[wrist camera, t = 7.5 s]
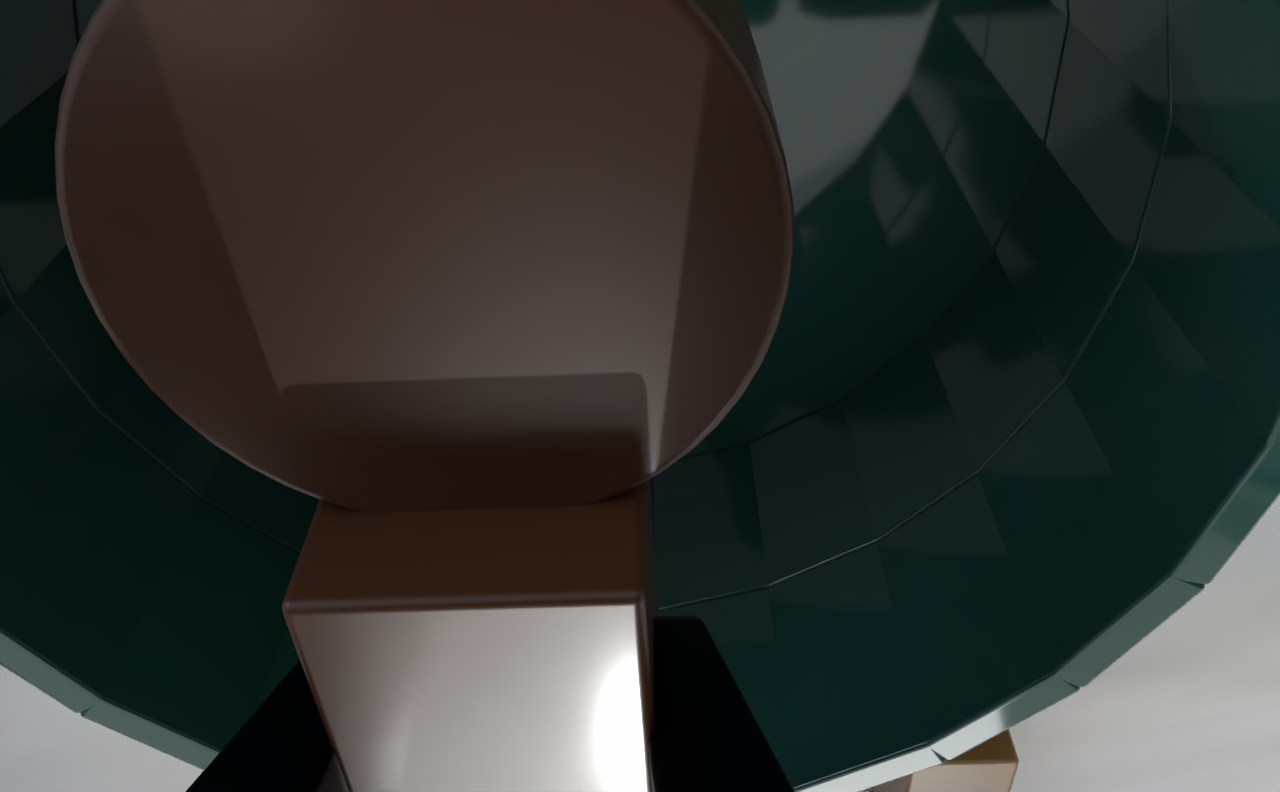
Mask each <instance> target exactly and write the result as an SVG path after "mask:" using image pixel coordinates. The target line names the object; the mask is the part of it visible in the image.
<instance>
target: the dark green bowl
mask: <svg viewBox="0 0 1280 792" xmlns="http://www.w3.org/2000/svg"><path fill="white" fill-rule="evenodd" d="M101 1H102V0H0V664H1V665H2V666H4V667H5V668H7V669H9V670H10V671H12V672H13V673H15V674H16V675H18V676H19V677H21V678H22V679H24V680H26V681H27V682H29V683H30V684H32V685H33V686H35V687H36V688H38V689H39V690H41V691H42V692H44V693H46V694H47V695H49V696H50V697H52V698H53V699H55V700H56V701H58V702H59V703H61V704H63V705H64V706H66V707H67V708H69V709H70V710H72V711H73V712H75V713H81V716H82V717H84V718H86V719H89V720H91V721H93V722H95V723H98V724H100V725H102V726H104V727H107V728H109V729H111V730H114V731H116V732H118V733H120V734H123V735H125V736H127V737H129V738H132V739H134V740H136V741H139V742H141V743H143V744H145V745H148V746H150V747H152V748H154V749H157V750H159V751H161V752H164V753H166V754H168V755H170V756H173V757H175V758H177V759H179V760H182V761H184V762H186V763H189V764H191V765H193V766H195V767H198V768H200V769H202V770H205V769H206V768H207V766H208V765H209V764H210V763H211V762H212V761H213V760H214V758H215V757H216V756H217V755H218V754H219V753H220V751H221V750H222V749H223V748H224V747H225V746H226V744H227V743H228V742H229V741H230V740H231V739H232V738H233V736H234V735H235V734H236V733H237V732H238V731H239V729H240V728H241V727H242V726H243V725H244V724H245V723H246V721H247V720H248V719H249V718H250V717H251V716H252V714H253V713H254V712H255V711H256V710H257V709H258V707H259V706H260V705H261V704H262V703H263V702H264V701H265V699H266V698H267V697H268V696H269V695H270V694H271V692H272V691H273V690H274V689H275V688H276V687H277V686H278V684H279V683H280V682H281V681H282V680H283V679H284V677H285V676H286V675H287V674H288V673H289V672H290V670H291V669H292V668H293V667H294V666H295V665H296V664H297V662H298V661H299V660H300V659H299V656H298V653H297V651H296V648H295V645H294V642H293V640H292V637H291V634H290V631H289V629H288V626H287V623H286V621H285V618H284V615H283V611H282V604H283V600H284V597H285V594H286V592H287V589H288V586H289V583H290V580H291V578H292V575H293V572H294V569H295V566H296V564H297V561H298V558H299V555H300V552H301V550H302V547H303V544H304V541H305V539H306V536H307V533H308V530H309V527H310V525H311V522H312V519H313V516H314V513H315V511H316V508H317V505H318V502H319V499H317V498H315V497H312V496H310V495H307V494H305V493H302V492H300V491H297V490H295V489H292V488H290V487H287V486H285V485H283V484H281V483H279V482H277V481H275V480H274V479H272V478H270V477H268V476H266V475H264V474H262V473H260V472H258V471H256V470H254V469H252V468H250V467H249V466H247V465H245V464H244V463H242V462H241V461H239V460H238V459H236V458H235V457H233V456H231V455H230V454H228V453H227V452H225V451H224V450H222V449H221V448H219V447H217V446H216V445H214V444H213V443H212V442H210V441H209V440H208V439H207V438H205V437H204V436H203V435H202V434H200V433H199V432H198V431H196V430H195V429H194V428H193V427H191V426H190V425H189V424H188V423H186V422H185V421H184V420H183V419H181V418H180V417H179V416H178V415H177V414H176V413H175V412H174V411H173V410H172V409H171V408H170V407H169V406H168V405H167V404H166V403H165V402H164V401H163V400H162V399H161V398H160V397H159V396H157V395H156V394H155V393H154V392H153V391H152V390H151V389H150V388H149V387H148V385H147V384H146V383H145V382H144V380H143V379H142V378H141V377H140V376H139V374H138V373H137V372H136V371H135V370H134V368H133V367H132V366H131V365H130V364H129V362H128V361H127V360H126V359H125V358H124V356H123V355H122V354H121V352H120V351H119V349H118V348H117V346H116V345H115V343H114V342H113V340H112V339H111V337H110V335H109V334H108V332H107V331H106V329H105V328H104V326H103V325H102V323H101V322H100V320H99V319H98V317H97V315H96V313H95V311H94V309H93V307H92V305H91V303H90V300H89V298H88V296H87V294H86V292H85V290H84V288H83V286H82V284H81V282H80V280H79V278H78V275H77V272H76V269H75V266H74V263H73V260H72V257H71V254H70V251H69V249H68V246H67V243H66V240H65V236H64V230H63V225H62V220H61V215H60V210H59V205H58V200H57V192H56V169H55V138H56V129H57V120H58V111H59V102H60V97H61V94H62V90H63V87H64V83H65V80H66V76H67V73H68V69H69V66H70V62H71V59H72V55H73V53H74V51H75V49H76V47H77V45H78V43H79V41H80V39H81V37H82V35H83V32H84V30H85V28H86V26H87V24H88V22H89V20H90V18H91V16H92V14H93V12H94V11H95V9H96V8H97V7H98V5H99V4H100V2H101ZM737 2H738V4H739V6H740V8H741V10H742V12H743V14H744V16H745V18H746V20H747V22H748V25H749V28H750V31H751V34H752V37H753V40H754V43H755V46H756V49H757V52H758V55H759V58H760V61H761V65H762V69H763V72H764V76H765V80H766V84H767V88H768V92H769V96H770V100H771V104H772V107H773V111H774V115H775V119H776V123H777V127H778V131H779V135H780V139H781V142H782V146H783V150H784V154H785V158H786V163H787V169H788V175H789V180H790V186H791V192H792V197H793V205H794V242H795V247H794V255H793V263H792V271H791V280H790V287H789V291H788V295H787V298H786V302H785V305H784V309H783V313H782V316H781V320H780V324H779V326H778V329H777V331H776V333H775V336H774V338H773V340H772V342H771V345H770V347H769V349H768V352H767V354H766V356H765V358H764V361H763V362H762V364H761V366H760V367H759V369H758V370H757V372H756V374H755V375H754V377H753V378H752V380H751V382H750V383H749V385H748V387H747V388H746V390H745V391H744V393H743V395H742V396H741V398H740V399H739V400H738V401H737V403H736V404H735V405H734V406H733V407H732V409H731V410H730V411H729V412H728V413H727V415H726V416H725V417H724V418H723V420H722V421H721V422H720V423H719V424H718V426H717V427H716V428H715V429H713V430H712V431H711V432H710V433H709V434H708V435H707V436H706V437H705V438H704V439H703V440H702V441H701V442H699V443H698V444H697V445H696V446H695V447H694V448H693V449H692V450H691V451H690V452H688V453H687V454H686V455H684V456H683V457H681V458H680V459H679V460H677V461H676V462H675V463H673V464H672V465H670V466H669V467H668V468H666V469H665V470H663V471H662V472H661V473H659V474H657V475H655V476H654V477H652V478H651V496H652V515H653V533H654V552H655V571H656V590H657V609H658V617H661V616H696V617H698V618H700V619H701V620H702V622H703V623H704V624H705V626H706V628H707V630H708V631H709V633H710V635H711V637H712V639H713V641H714V643H715V645H716V646H717V648H718V650H719V652H720V654H721V656H722V658H723V659H724V661H725V663H726V665H727V667H728V669H729V671H730V673H731V674H732V676H733V678H734V680H735V682H736V684H737V686H738V687H739V689H740V691H741V693H742V695H743V697H744V699H745V700H746V702H747V704H748V706H749V708H750V710H751V712H752V714H753V715H754V717H755V719H756V721H757V723H758V725H759V727H760V728H761V730H762V732H763V734H764V736H765V738H766V740H767V742H768V743H769V745H770V747H771V749H772V751H773V753H774V755H775V756H776V758H777V760H778V762H779V764H780V766H781V768H782V770H783V771H784V773H785V775H786V777H787V779H788V781H789V783H790V784H791V786H792V788H793V790H794V792H860V791H863V790H866V789H869V788H872V787H875V786H878V785H881V784H883V783H886V782H889V781H892V780H895V779H898V778H901V777H904V776H907V775H910V774H913V773H916V772H919V771H922V770H925V769H928V768H931V767H934V766H937V765H940V764H943V763H944V762H945V760H952V759H954V758H956V757H957V756H959V755H961V754H963V753H965V752H967V751H969V750H970V749H972V748H974V747H976V746H978V745H980V744H981V743H983V742H985V741H987V740H989V739H991V738H993V737H994V736H996V735H998V734H1000V733H1002V732H1004V731H1006V730H1007V729H1009V728H1011V727H1013V726H1015V725H1017V724H1018V723H1020V722H1022V721H1024V720H1026V719H1028V718H1030V717H1031V716H1033V715H1035V714H1037V713H1039V712H1041V711H1043V710H1044V709H1046V708H1048V707H1050V706H1052V705H1054V704H1055V703H1057V702H1059V701H1061V700H1063V699H1065V698H1067V697H1068V696H1070V695H1072V694H1074V693H1076V692H1078V691H1079V689H1080V687H1085V686H1087V685H1088V684H1089V683H1090V682H1091V681H1093V680H1094V679H1095V678H1096V677H1097V676H1099V675H1100V674H1101V673H1102V672H1104V671H1105V670H1106V669H1107V668H1108V667H1110V666H1111V665H1112V664H1113V663H1115V662H1116V661H1117V660H1118V659H1119V658H1121V657H1122V656H1123V655H1124V654H1126V653H1127V652H1128V651H1129V650H1130V649H1132V648H1133V647H1134V646H1135V645H1137V644H1138V643H1139V642H1140V641H1141V640H1143V639H1144V638H1145V637H1146V636H1148V635H1149V634H1150V633H1151V632H1152V631H1154V630H1155V629H1156V628H1157V627H1159V626H1160V625H1161V624H1162V623H1163V622H1165V621H1166V620H1167V619H1168V618H1170V617H1171V616H1172V615H1173V614H1174V613H1176V612H1177V611H1178V610H1179V609H1181V608H1182V607H1183V606H1184V605H1185V604H1187V603H1188V602H1189V601H1190V600H1192V599H1193V598H1194V597H1195V596H1196V595H1198V594H1199V593H1200V592H1201V591H1202V590H1204V588H1205V585H1206V584H1209V583H1211V581H1212V580H1213V579H1214V578H1215V576H1216V575H1217V574H1218V573H1219V571H1220V570H1221V569H1222V567H1223V566H1224V565H1225V564H1226V562H1227V561H1228V560H1229V559H1230V557H1231V556H1232V555H1233V554H1234V552H1235V551H1236V550H1237V548H1238V547H1239V546H1240V545H1241V543H1242V542H1243V541H1244V540H1245V538H1246V537H1247V536H1248V534H1249V533H1250V532H1251V531H1252V529H1253V528H1254V527H1255V526H1256V524H1257V523H1258V522H1259V520H1260V519H1261V518H1262V517H1263V515H1264V514H1265V513H1266V512H1267V510H1268V509H1269V508H1270V507H1271V505H1272V504H1273V503H1274V501H1275V500H1276V499H1277V498H1278V496H1279V495H1280V0H737Z"/></svg>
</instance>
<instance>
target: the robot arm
mask: <svg viewBox="0 0 1280 792" xmlns="http://www.w3.org/2000/svg"><path fill="white" fill-rule="evenodd" d="M649 752H650V769H651V784H652V792H794V790H793V788H792V786H791V784H790V783H789V781H788V779H787V777H786V775H785V773H784V771H783V770H782V768H781V766H780V764H779V762H778V760H777V758H776V756H775V755H774V753H773V751H772V749H771V747H770V745H769V743H768V742H767V740H766V738H765V736H764V734H763V732H762V730H761V728H760V727H759V725H758V723H757V721H756V719H755V717H754V715H753V714H752V712H751V710H750V708H749V706H748V704H747V702H746V700H745V699H744V697H743V695H742V693H741V691H740V689H739V687H738V686H737V684H736V682H735V680H734V678H733V676H732V674H731V673H730V671H729V669H728V667H727V665H726V663H725V661H724V659H723V658H722V656H721V654H720V652H719V650H718V648H717V646H716V645H715V643H714V641H713V639H712V637H711V635H710V633H709V631H708V630H707V628H706V626H705V624H704V623H703V622H702V620H701V619H700V618H698V617H696V616H661V617H655V618H654V733H653V735H652V738H651V740H650V742H649ZM186 792H350V790H349V787H348V785H347V782H346V779H345V776H344V774H343V771H342V768H341V765H340V763H339V760H338V757H337V754H336V752H335V750H334V748H333V747H332V746H331V744H330V741H329V738H328V735H327V733H326V730H325V727H324V724H323V722H322V719H321V716H320V713H319V711H318V708H317V705H316V703H315V700H314V697H313V694H312V692H311V689H310V686H309V683H308V681H307V678H306V675H305V672H304V670H303V667H302V664H301V662H300V660H299V661H298V662H297V664H296V665H295V666H294V667H293V668H292V669H291V670H290V672H289V673H288V674H287V675H286V676H285V677H284V679H283V680H282V681H281V682H280V683H279V684H278V686H277V687H276V688H275V689H274V690H273V691H272V692H271V694H270V695H269V696H268V697H267V698H266V699H265V701H264V702H263V703H262V704H261V705H260V706H259V707H258V709H257V710H256V711H255V712H254V713H253V714H252V716H251V717H250V718H249V719H248V720H247V721H246V723H245V724H244V725H243V726H242V727H241V728H240V729H239V731H238V732H237V733H236V734H235V735H234V736H233V738H232V739H231V740H230V741H229V742H228V743H227V744H226V746H225V747H224V748H223V749H222V750H221V751H220V753H219V754H218V755H217V756H216V757H215V758H214V760H213V761H212V762H211V763H210V764H209V765H208V766H207V768H206V769H205V770H204V771H203V772H202V773H201V775H200V776H199V777H198V778H197V779H196V780H195V781H194V783H193V784H192V785H191V786H190V787H189V788H188V790H187V791H186Z"/></svg>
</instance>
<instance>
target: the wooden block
mask: <svg viewBox="0 0 1280 792" xmlns="http://www.w3.org/2000/svg"><path fill="white" fill-rule="evenodd" d="M1018 761H1019V760H1018V757H1017V754H1016V751H1015V748H1014V744H1013V741H1012V738H1011V735H1010V732H1009V729H1007V730H1006V731H1004V732H1002V733H1000V734H998V735H996V736H994V737H993V738H991V739H989V740H987V741H985V742H983V743H981V744H980V745H978V746H976V747H974V748H972V749H970V750H969V751H967V752H965V753H963V754H961V755H959V756H957V757H956V758H954V759H952V760H945V762H944V763H943V764H940V765H937V766H934V767H931V768H928V769H925V770H922V771H919V772H916V773H913V774H910V775H907V776H904V777H901V778H898V779H895V780H892V781H889V782H886V783H883V784H881V785H878V786H875V787H873V790H872V792H1010V789H1011V786H1012V783H1013V779H1014V776H1015V772H1016V769H1017V765H1018Z"/></svg>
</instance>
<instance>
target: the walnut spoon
mask: <svg viewBox="0 0 1280 792" xmlns="http://www.w3.org/2000/svg"><path fill="white" fill-rule="evenodd" d="M55 169H56V192H57V200H58V205H59V210H60V215H61V220H62V225H63V230H64V236H65V240H66V243H67V246H68V249H69V251H70V254H71V257H72V260H73V263H74V266H75V269H76V272H77V275H78V278H79V280H80V282H81V284H82V286H83V288H84V290H85V292H86V294H87V296H88V298H89V300H90V303H91V305H92V307H93V309H94V311H95V313H96V315H97V317H98V319H99V320H100V322H101V323H102V325H103V326H104V328H105V329H106V331H107V332H108V334H109V335H110V337H111V339H112V340H113V342H114V343H115V345H116V346H117V348H118V349H119V351H120V352H121V354H122V355H123V356H124V358H125V359H126V360H127V361H128V362H129V364H130V365H131V366H132V367H133V368H134V370H135V371H136V372H137V373H138V374H139V376H140V377H141V378H142V379H143V380H144V382H145V383H146V384H147V385H148V387H149V388H150V389H151V390H152V391H153V392H154V393H155V394H156V395H157V396H159V397H160V398H161V399H162V400H163V401H164V402H165V403H166V404H167V405H168V406H169V407H170V408H171V409H172V410H173V411H174V412H175V413H176V414H177V415H178V416H179V417H180V418H181V419H183V420H184V421H185V422H186V423H188V424H189V425H190V426H191V427H193V428H194V429H195V430H196V431H198V432H199V433H200V434H202V435H203V436H204V437H205V438H207V439H208V440H209V441H210V442H212V443H213V444H214V445H216V446H217V447H219V448H221V449H222V450H224V451H225V452H227V453H228V454H230V455H231V456H233V457H235V458H236V459H238V460H239V461H241V462H242V463H244V464H245V465H247V466H249V467H250V468H252V469H254V470H256V471H258V472H260V473H262V474H264V475H266V476H268V477H270V478H272V479H274V480H275V481H277V482H279V483H281V484H283V485H285V486H287V487H290V488H292V489H295V490H297V491H300V492H302V493H305V494H307V495H310V496H312V497H315V498H317V499H319V502H318V505H317V508H316V511H315V513H314V516H313V519H312V522H311V525H310V527H309V530H308V533H307V536H306V539H305V541H304V544H303V547H302V550H301V552H300V555H299V558H298V561H297V564H296V566H295V569H294V572H293V575H292V578H291V580H290V583H289V586H288V589H287V592H286V594H285V597H284V600H283V604H282V611H283V615H284V618H285V621H286V623H287V626H288V629H289V631H290V634H291V637H292V640H293V642H294V645H295V648H296V651H297V653H298V656H299V659H300V662H301V664H302V667H303V670H304V672H305V675H306V678H307V681H308V683H309V686H310V689H311V692H312V694H313V697H314V700H315V703H316V705H317V708H318V711H319V713H320V716H321V719H322V722H323V724H324V727H325V730H326V733H327V735H328V738H329V741H330V744H331V746H332V747H333V748H334V750H335V752H336V754H337V757H338V760H339V763H340V765H341V768H342V771H343V774H344V776H345V779H346V782H347V785H348V787H349V790H350V792H652V784H651V769H650V752H649V742H650V740H651V738H652V735H653V733H654V618H655V617H658V609H657V590H656V571H655V552H654V533H653V515H652V496H651V478H652V477H654V476H655V475H657V474H659V473H661V472H662V471H663V470H665V469H666V468H668V467H669V466H670V465H672V464H673V463H675V462H676V461H677V460H679V459H680V458H681V457H683V456H684V455H686V454H687V453H688V452H690V451H691V450H692V449H693V448H694V447H695V446H696V445H697V444H698V443H699V442H701V441H702V440H703V439H704V438H705V437H706V436H707V435H708V434H709V433H710V432H711V431H712V430H713V429H715V428H716V427H717V426H718V424H719V423H720V422H721V421H722V420H723V418H724V417H725V416H726V415H727V413H728V412H729V411H730V410H731V409H732V407H733V406H734V405H735V404H736V403H737V401H738V400H739V399H740V398H741V396H742V395H743V393H744V391H745V390H746V388H747V387H748V385H749V383H750V382H751V380H752V378H753V377H754V375H755V374H756V372H757V370H758V369H759V367H760V366H761V364H762V362H763V361H764V358H765V356H766V354H767V352H768V349H769V347H770V345H771V342H772V340H773V338H774V336H775V333H776V331H777V329H778V326H779V324H780V320H781V316H782V313H783V309H784V305H785V302H786V298H787V295H788V291H789V287H790V280H791V271H792V263H793V255H794V247H795V242H794V205H793V197H792V192H791V186H790V180H789V175H788V169H787V163H786V158H785V154H784V150H783V146H782V142H781V139H780V135H779V131H778V127H777V123H776V119H775V115H774V111H773V107H772V104H771V100H770V96H769V92H768V88H767V84H766V80H765V76H764V72H763V69H762V65H761V61H760V58H759V55H758V52H757V49H756V46H755V43H754V40H753V37H752V34H751V31H750V28H749V25H748V22H747V20H746V18H745V16H744V14H743V12H742V10H741V8H740V6H739V4H738V2H737V0H102V1H101V2H100V4H99V5H98V7H97V8H96V9H95V11H94V12H93V14H92V16H91V18H90V20H89V22H88V24H87V26H86V28H85V30H84V32H83V35H82V37H81V39H80V41H79V43H78V45H77V47H76V49H75V51H74V53H73V55H72V59H71V62H70V66H69V69H68V73H67V76H66V80H65V83H64V87H63V90H62V94H61V97H60V102H59V111H58V120H57V129H56V138H55Z"/></svg>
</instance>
